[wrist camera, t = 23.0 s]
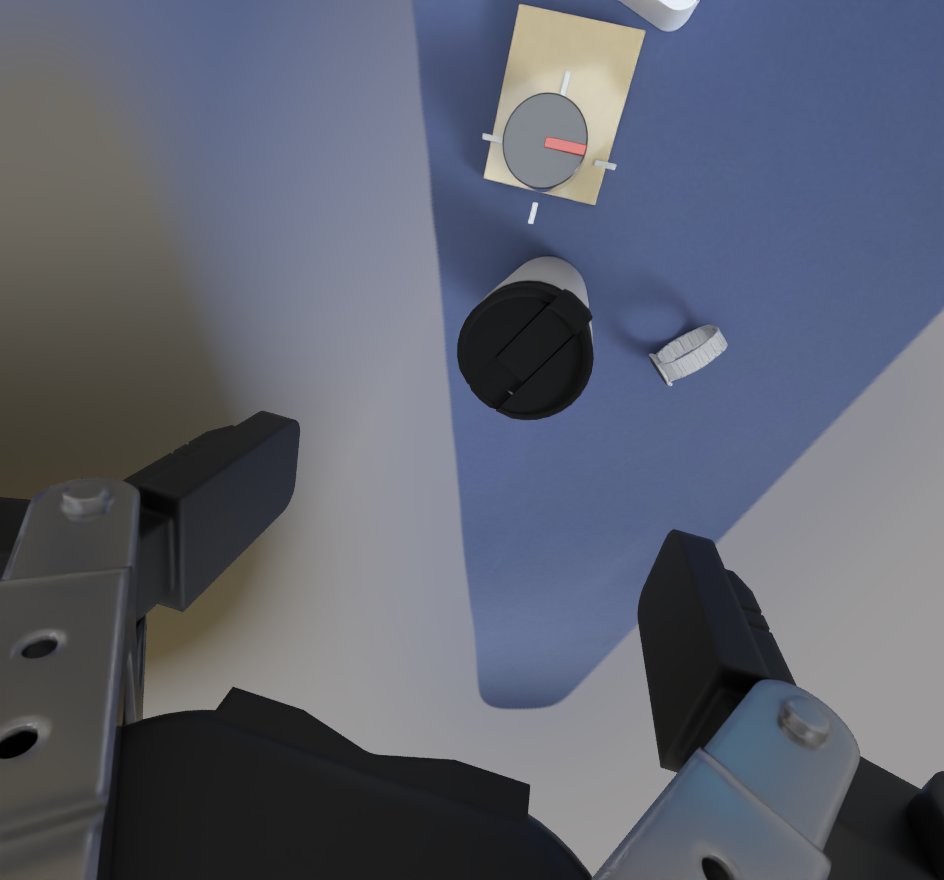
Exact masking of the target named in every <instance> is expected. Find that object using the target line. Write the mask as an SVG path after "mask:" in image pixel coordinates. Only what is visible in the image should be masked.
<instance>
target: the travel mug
mask: <svg viewBox="0 0 944 880" xmlns="http://www.w3.org/2000/svg"><path fill="white" fill-rule="evenodd" d="M591 320H592V315H591V312H590V310H589V304H588V297H587V289H586V286H585V282H584V280H583V278H582V276H581V274H580V273H579V271H578V270H577V269H576V268H575V267H574V266H573V265H572V264H570V263H569V262H567V261H565V260H563V259H561V258H558V257H553V256H543V257H537V258H534V259H531V260H529V261H528V262H526V263H524V264H523V265H522V266H520V267H519V268H518V269H517V270H516V271H515V272H513V273H512V274H511V275H510V276H509V277H508V278H507V279H505V280H504V281H503V282H502V283H501V284H500V285H498V286H497V287H496V288H495V289H494V290H493V291H491V292H490V293H489V294H488V295H487V296H486V297H485V298H484V299H483V300H482V301H481V302H480V304H479V305H478V306H476V307H475V308H474V309H473V310H472V312H471V313H470V315H469V316H468V317H467V319H466V320H465V322H464V325H463V327H462V329H461V331H460V335H459V340H458V349H457V358H458V363H459V369H460V371H461V373H462V375H463V376H464V378H465V380H466V382H467V384H469V385H470V388H471V390H472V391H473V393H474V394H475V395H476V396H477V397H478V398H479V399H480V400H481V401H482V402H483V403H485V404H486V405H487V406H489V407H491V408H494V409H497V410H496V411H497V412H499V413H502V414H504V415H506V416H508V417H510V418H513V419H520V420H537V419H542V418H546V417H550V416H552V415H554V414H557V413H559V412H561V411H563V410H564V409H565V408H567V407H568V406H570V405H571V404H572V403H573V402H574V401H575V400H576V399H577V398H578V397H579V396H580V395H581V393H582V391H583V390H584V388H585V387H586V385H587V383H588V380H589V378H590V375H591V372H592V366H593V359H594V357H593V335H592V326H591Z"/></svg>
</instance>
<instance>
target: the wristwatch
mask: <svg viewBox="0 0 944 880" xmlns="http://www.w3.org/2000/svg"><path fill="white" fill-rule="evenodd" d="M675 340H676V341H675ZM675 340H673V341H672V342H670V343H668V344H667V345H666V346H664V347H663V348H662V349H661V350H660V351H658V352H657V353H656V354H652V353H651V354H649V359H650V360H651V362H652V364H653V366H654V367H655V369H656V371H657V372H658V374H659V375H660V377H661V378H662V380H663V381H664V382H665V384H666V385H669V386H672V385H673V384H672V383H671V382H672V381H673V380H674V379H679V378H682V377H685V376H687V375H689V374H691V373H693V372H695V371H697V370H699V368H702V367H704V366H705V365H707V364H708V363H710V362H711V361H712V360H713V359H715V357H717V356H718V355H720V354H721V353H722V352H723V351H724V350H725V349H726V348H727V346H728V344H727V342H726V341H725V339H724V337H723V335H722V333H721V332H720V330H719V328H718V327H717V326H715V325H712V324H710V325H705V326H702V327H700V328H697V329H695V330H693V331H690V332H688V333H686V334H684V336H683V335H682V336H680V337H678V338H677V339H675ZM678 340H679V341H678ZM683 341H684V342H683ZM680 343H681V344H680ZM674 344H675V345H674ZM681 345H682V346H681ZM697 347H698V348H697ZM683 348H684V349H683ZM695 348H696V349H695ZM677 349H678V350H677ZM691 349H692V350H693V349H694V350H693V351H691ZM684 350H685V351H684ZM689 351H691V352H690V353H688V354H686V355H684V356H683V357H682V358H679V359H677V358H678V357H680V356H682V355H683V354H685V353H687V352H689ZM675 359H677V360H675Z"/></svg>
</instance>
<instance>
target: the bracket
mask: <svg viewBox="0 0 944 880" xmlns="http://www.w3.org/2000/svg"><path fill="white" fill-rule="evenodd" d="M618 1H620V2H621V3H623V4H624V5H625V6H627V7H628V8H630V9H631V10H633V11H634V12H635V13H637V14H638V15H640V16H641V17H643V18H644V19H646V20H647V21H648V22H650V23H651V24H653V25H654V26H656V27H657V28H658V29H660V30H662V31H667V32H670V31H675V30H677V29H679V28H680V27H682V26H683V25H684V24H685V23H686V22H687V20H688V19H689V17H690V16H691V14H692V13H693V11H694V9H695V8H696V6H697V5H698V3H699V1H700V0H618Z"/></svg>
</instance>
